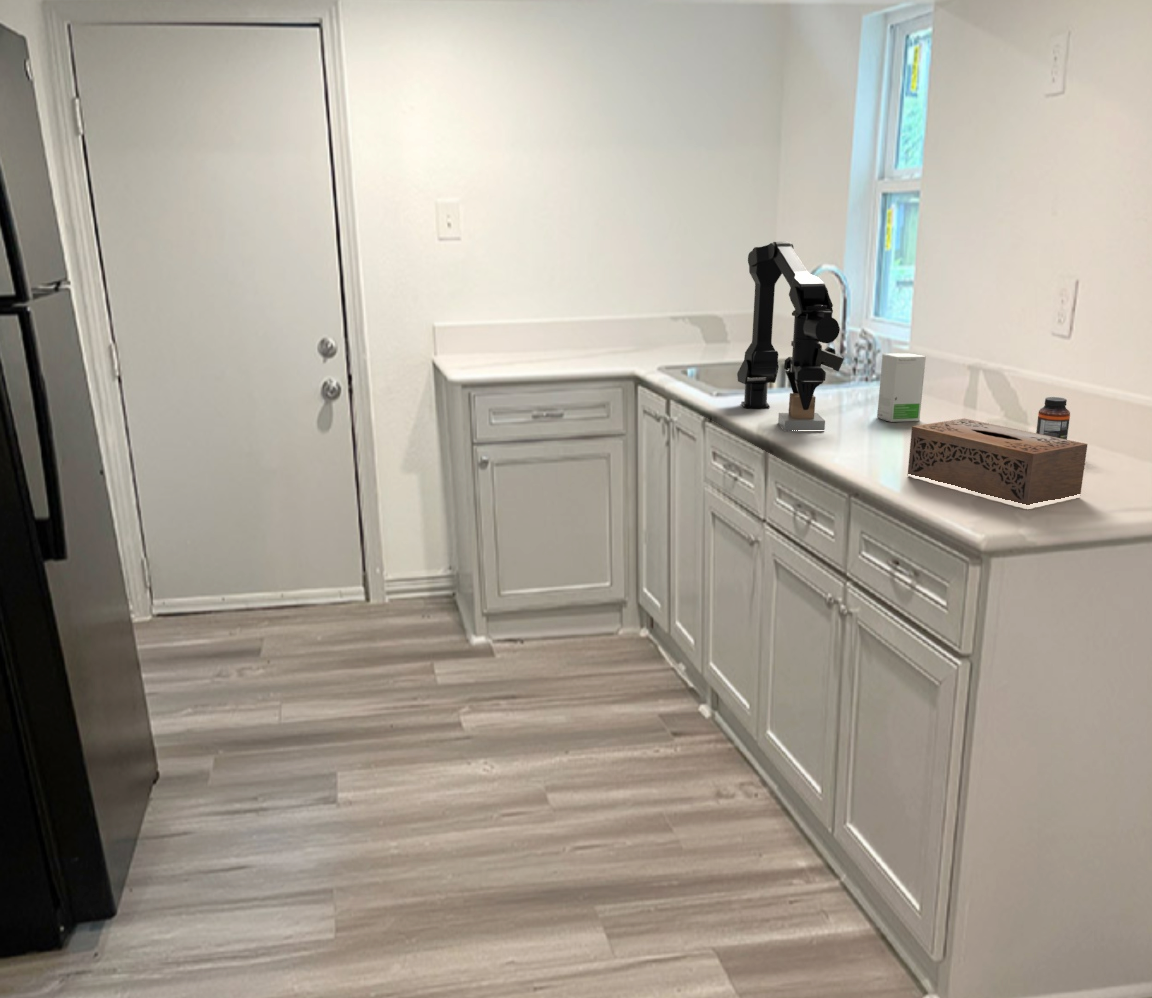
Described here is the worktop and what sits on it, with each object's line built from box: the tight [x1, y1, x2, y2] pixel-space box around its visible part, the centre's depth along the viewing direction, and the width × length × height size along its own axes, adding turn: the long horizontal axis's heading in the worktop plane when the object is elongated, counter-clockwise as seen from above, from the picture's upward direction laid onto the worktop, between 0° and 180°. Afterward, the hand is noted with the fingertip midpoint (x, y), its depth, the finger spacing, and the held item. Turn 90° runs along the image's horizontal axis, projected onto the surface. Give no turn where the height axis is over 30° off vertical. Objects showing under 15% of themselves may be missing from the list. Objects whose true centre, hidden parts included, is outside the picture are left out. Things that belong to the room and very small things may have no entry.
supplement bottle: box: [1035, 396, 1071, 440], centre depth 209 cm, size 6×6×11 cm
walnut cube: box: [788, 392, 816, 419], centre depth 234 cm, size 5×5×5 cm
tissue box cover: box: [907, 418, 1088, 505], centre depth 184 cm, size 26×14×10 cm, turn 30°
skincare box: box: [876, 352, 927, 423], centre depth 242 cm, size 8×7×16 cm
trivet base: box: [777, 412, 826, 432], centre depth 235 cm, size 9×9×3 cm
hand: (802, 406), depth 234 cm, fingers open, 9 cm apart
